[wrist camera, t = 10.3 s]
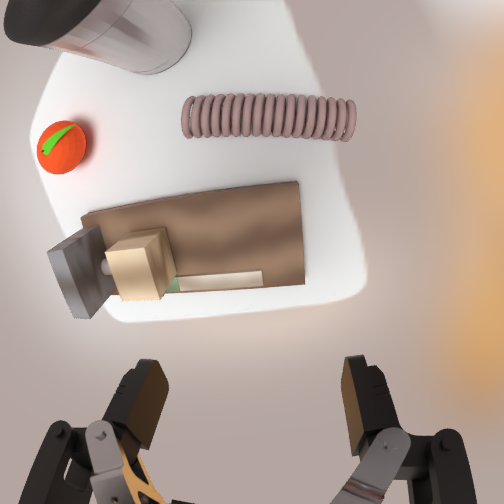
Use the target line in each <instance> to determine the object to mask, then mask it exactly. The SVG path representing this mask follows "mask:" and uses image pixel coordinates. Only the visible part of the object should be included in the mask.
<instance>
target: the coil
mask: <svg viewBox="0 0 504 504" xmlns="http://www.w3.org/2000/svg"><path fill="white" fill-rule="evenodd" d="M192 104H193V107H192V113H191V117H189V115H190V109H191V106H192ZM201 104H203V106H201ZM211 104H212V105H213V107H212V109H211ZM221 104H222V115H221ZM305 106H306V98H305V96H304V95H299V96H298V105H297V117H296V101H295V96H294V95H293V94H290V95H289V96H288V99H287V110H286V97H285V95H284V94H279V95H278V96H277V102H276V97H275V95H274V94H271V93H270V94H268V96H267V98H266V97H265V95H264V94H262V93H260V94H258V95H257V97H255V95H254V94H252V93H250V94H248V95H247V96H245V95H244V94H238V95H237V96H235V95H234V94H228V95H227V96H225V95H223V94H219V95H218V96H217V97H216V96H214V95H209V96H207V97H205V96H202V95H201V96H199V97H197V98H196V97H194V96H191V97H189V98H188V99H187V100H186V101H185V103H184V106H183V109H182V116H181V125H182V131H183V134H184V136H185V137H186V138H187V139H190V138H192V137H193V135H194V137H196V138H200V137H201V136H202V135H204V137H206V138H209V137H210V136H211V135H212V133H213V136H215V137H219V136H220V135H221V132H222V134H223V136H225V137H229V136H230V134H231V113H230V110H231V107H232V134H233V136H235V137H238V136H239V135H240V131H241V124H240V114H241V110H242V134H243V136H245V137H248V136H249V135H250V123H251V117H252V134H253V136H255V137H258V136H259V135H260V130H261V125H262V134H263V136H264V137H268V136H269V135H270V132H271V131H272V135H273V136H274V137H279V136H280V134H281V133H282V135H283V136H284V137H286V138H287V137H289V136H290V135H291V134H292V136H293V137H294V138H299V137H300V136H302V137H303V138H305V139H307V138H309V137H310V136H311V137H312V138H313V139H319V138H320V137H321V138H322V139H323V140H328V139H329V138H331V139H332V140H333V141H338V140H339V139H340V140H341V141H343V142H347V141H349V140H350V138H351V137H352V135H353V133H354V129H355V124H356V106H355V103H354V101H352V100H347V101H346V103H345V101H344V100H343V99H341V98H340V99H338V100H337V101H335V99H334V98H332V97H331V98H328V99H327V102H326V100H325V98H324V97H322V96H320V97H319V98H318V99H317V125H316V126H315V115H316V99H315V97H314V96H309V97H308V101H307V122H306V118H305ZM325 120H326V126H327V127H326V130H325ZM335 127H336V131H334V128H335ZM344 130H346V131H345V133H344Z"/></svg>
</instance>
